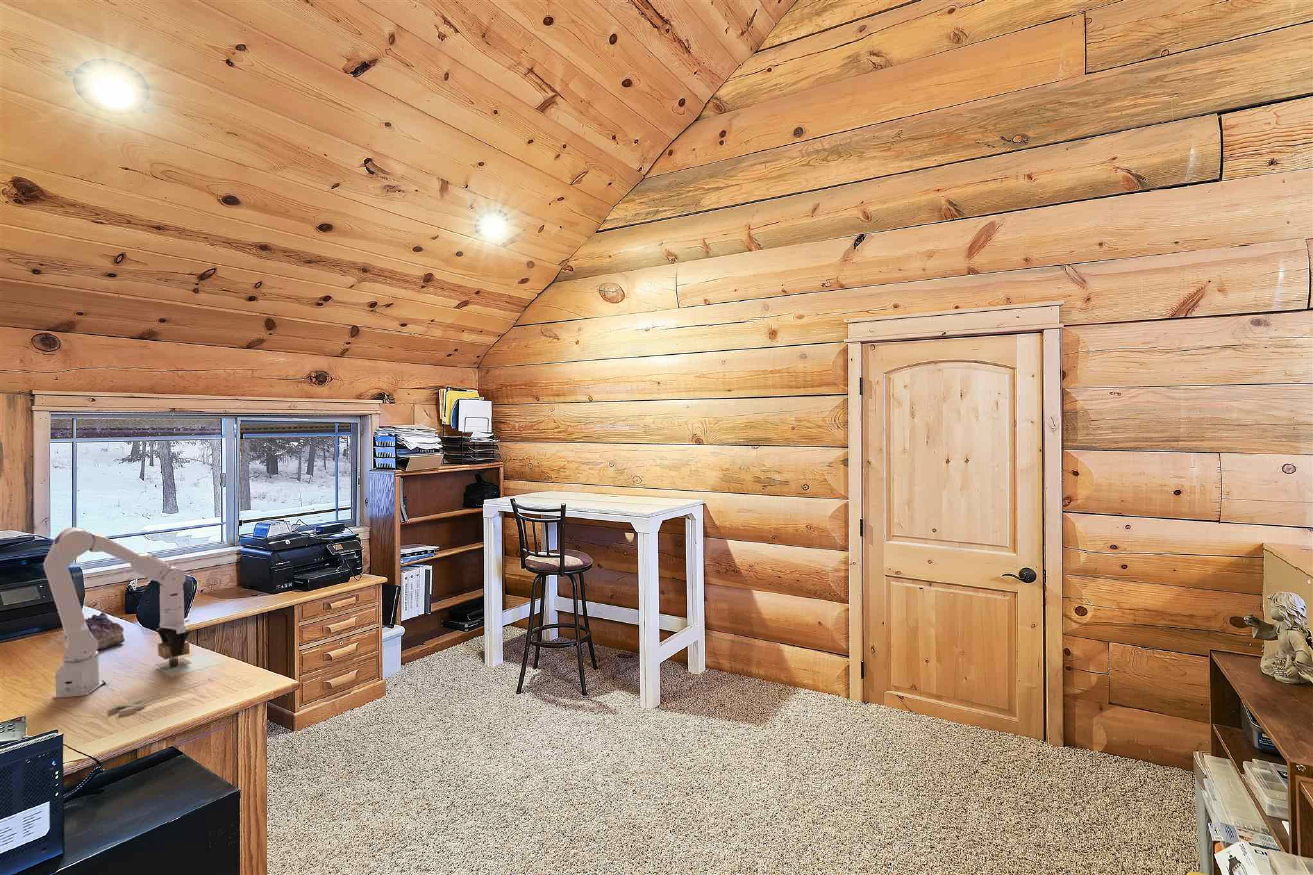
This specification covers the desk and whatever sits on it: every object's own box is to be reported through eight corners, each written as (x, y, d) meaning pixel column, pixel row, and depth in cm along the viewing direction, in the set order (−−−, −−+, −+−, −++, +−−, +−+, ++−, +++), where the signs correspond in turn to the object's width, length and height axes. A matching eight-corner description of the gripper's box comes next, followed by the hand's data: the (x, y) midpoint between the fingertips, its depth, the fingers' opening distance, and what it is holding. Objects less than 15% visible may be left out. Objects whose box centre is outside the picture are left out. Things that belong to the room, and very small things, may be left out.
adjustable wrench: (217, 681, 185) (217, 675, 185) (227, 686, 181) (227, 680, 181) (106, 713, 164) (105, 706, 164) (114, 720, 160) (114, 713, 160)
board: (219, 667, 194) (219, 664, 194) (170, 680, 184) (170, 677, 184) (201, 657, 202) (201, 654, 202) (154, 669, 192) (153, 665, 192)
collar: (189, 653, 194) (189, 642, 194) (165, 659, 190) (164, 647, 189) (182, 649, 198) (181, 638, 198) (158, 655, 193) (157, 643, 193)
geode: (64, 643, 216) (68, 613, 217) (109, 639, 225) (113, 609, 226) (79, 654, 203) (84, 621, 204) (126, 649, 212) (130, 617, 213)
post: (191, 663, 194) (191, 646, 194) (163, 670, 189) (163, 653, 189) (183, 658, 199) (182, 641, 198) (155, 665, 193) (154, 648, 193)
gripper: (197, 608, 192) (198, 653, 192) (179, 600, 201) (180, 643, 201) (168, 614, 186) (169, 661, 187) (151, 605, 195) (152, 650, 196)
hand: (173, 652), depth 194 cm, fingers closed on collar, 6 cm apart
